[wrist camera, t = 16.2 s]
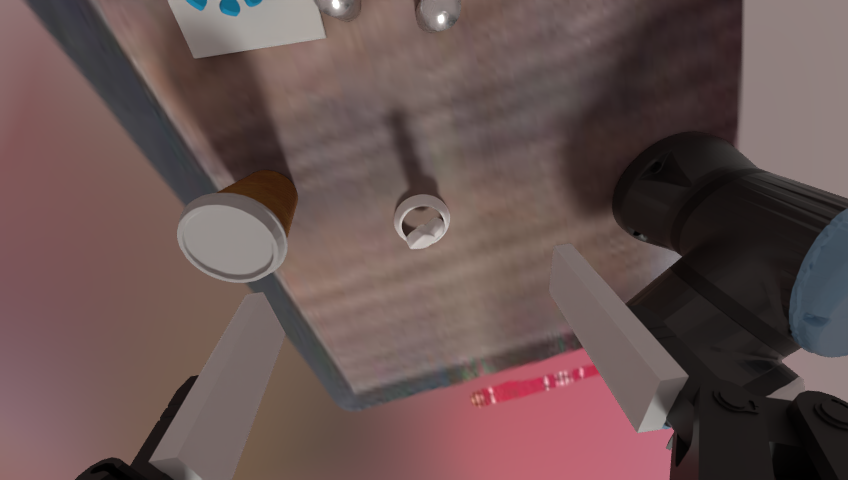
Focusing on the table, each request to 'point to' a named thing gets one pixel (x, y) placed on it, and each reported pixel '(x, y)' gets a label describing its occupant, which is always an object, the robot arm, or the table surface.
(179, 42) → the table surface
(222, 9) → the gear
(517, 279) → the table surface
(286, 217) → the disposable coffee cup
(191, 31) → the rubber mat
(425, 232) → the hook
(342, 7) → the spacer posts
